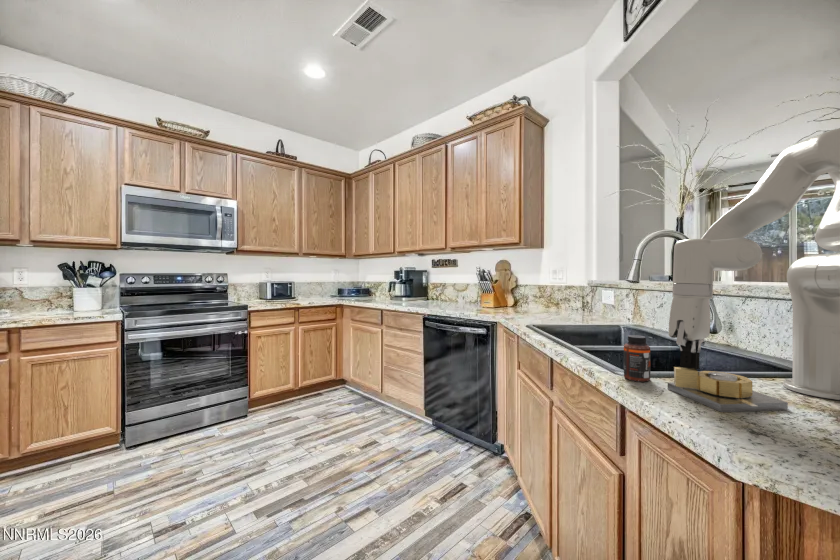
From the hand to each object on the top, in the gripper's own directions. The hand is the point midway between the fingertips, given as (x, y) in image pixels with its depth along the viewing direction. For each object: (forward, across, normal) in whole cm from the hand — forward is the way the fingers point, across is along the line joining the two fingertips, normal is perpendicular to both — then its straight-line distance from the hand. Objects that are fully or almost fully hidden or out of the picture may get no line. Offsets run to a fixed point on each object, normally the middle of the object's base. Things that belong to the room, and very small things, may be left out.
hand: (689, 368), depth 83 cm
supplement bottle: (+6, +2, -11) cm, 12 cm away
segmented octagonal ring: (+3, +2, +5) cm, 6 cm away
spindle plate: (+5, +1, +7) cm, 8 cm away
